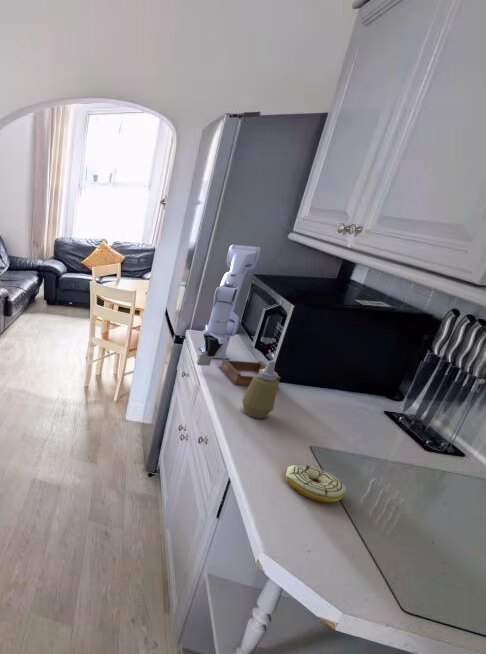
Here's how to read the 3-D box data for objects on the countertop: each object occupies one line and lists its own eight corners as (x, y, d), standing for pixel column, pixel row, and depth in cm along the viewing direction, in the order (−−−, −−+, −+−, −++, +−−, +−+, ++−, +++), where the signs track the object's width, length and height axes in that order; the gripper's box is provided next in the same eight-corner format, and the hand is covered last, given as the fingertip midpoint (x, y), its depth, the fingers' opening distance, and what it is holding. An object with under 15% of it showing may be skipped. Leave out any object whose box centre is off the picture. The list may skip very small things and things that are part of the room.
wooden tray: (219, 367, 151) (222, 358, 150) (258, 370, 149) (261, 361, 148) (234, 384, 139) (238, 374, 137) (277, 388, 137) (280, 377, 136)
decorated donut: (298, 468, 99) (303, 456, 97) (350, 496, 90) (356, 483, 89) (274, 481, 94) (279, 468, 93) (326, 512, 86) (333, 498, 84)
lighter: (198, 365, 146) (202, 345, 143) (196, 363, 148) (200, 343, 145) (218, 366, 145) (223, 346, 142) (216, 364, 147) (221, 344, 144)
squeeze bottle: (260, 407, 125) (278, 356, 118) (275, 421, 118) (295, 368, 111) (234, 405, 126) (250, 354, 119) (247, 419, 119) (265, 366, 111)
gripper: (200, 312, 146) (191, 346, 152) (214, 326, 133) (205, 362, 139) (220, 314, 146) (211, 347, 151) (237, 327, 132) (226, 363, 138)
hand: (209, 354), depth 145 cm, fingers closed on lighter, 2 cm apart
